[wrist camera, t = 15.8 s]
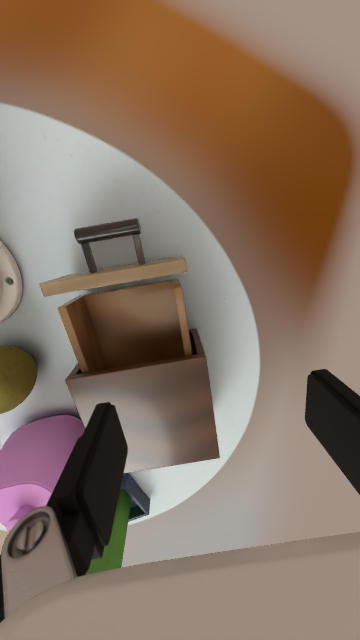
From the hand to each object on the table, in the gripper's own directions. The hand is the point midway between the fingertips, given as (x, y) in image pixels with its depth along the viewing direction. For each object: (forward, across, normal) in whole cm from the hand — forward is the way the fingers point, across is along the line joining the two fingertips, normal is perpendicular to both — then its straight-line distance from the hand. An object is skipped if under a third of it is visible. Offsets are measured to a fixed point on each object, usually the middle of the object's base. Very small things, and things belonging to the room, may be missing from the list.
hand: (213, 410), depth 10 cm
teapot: (+18, +22, +19) cm, 35 cm away
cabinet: (+18, +6, +11) cm, 22 cm away
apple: (+18, +24, +4) cm, 30 cm away
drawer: (+17, +6, -2) cm, 19 cm away
